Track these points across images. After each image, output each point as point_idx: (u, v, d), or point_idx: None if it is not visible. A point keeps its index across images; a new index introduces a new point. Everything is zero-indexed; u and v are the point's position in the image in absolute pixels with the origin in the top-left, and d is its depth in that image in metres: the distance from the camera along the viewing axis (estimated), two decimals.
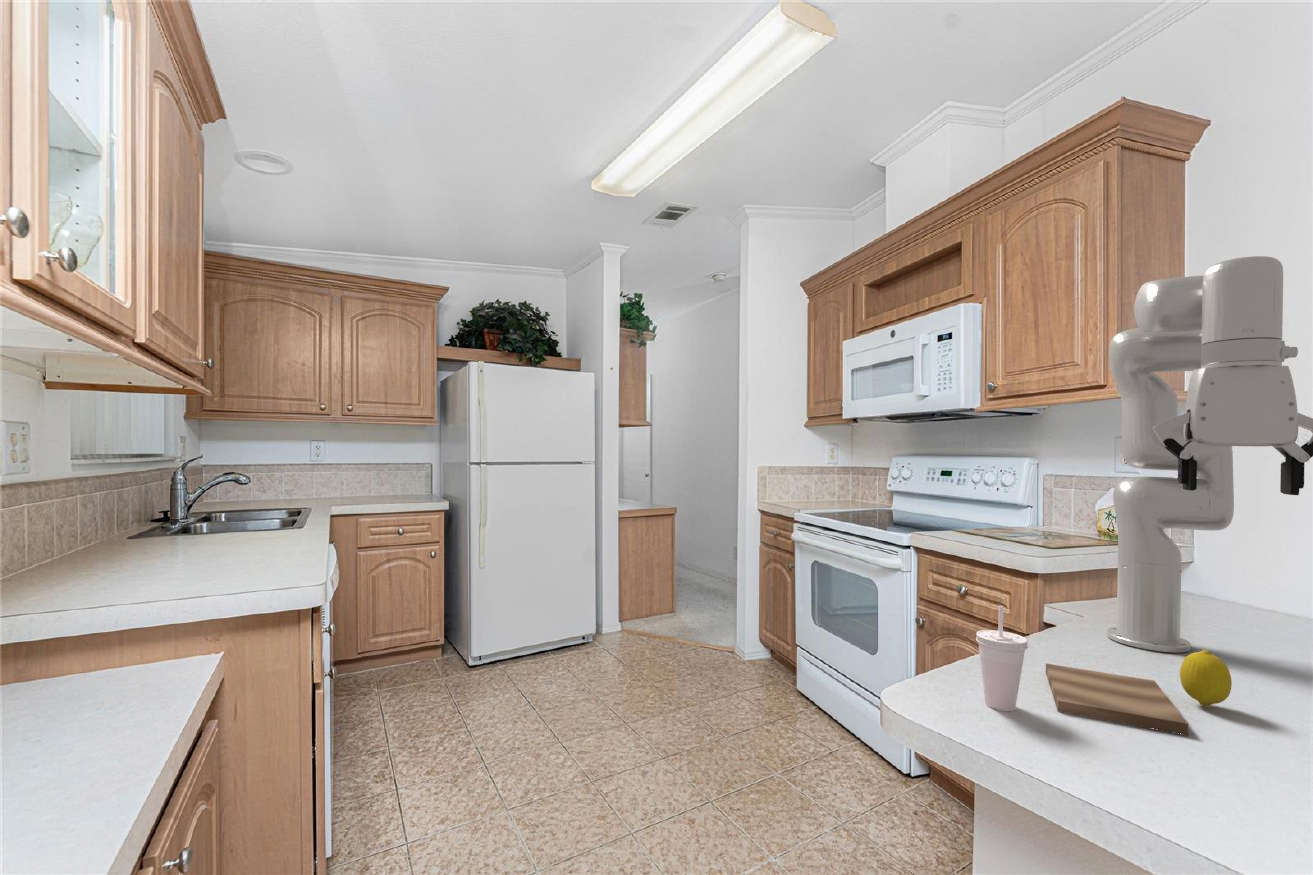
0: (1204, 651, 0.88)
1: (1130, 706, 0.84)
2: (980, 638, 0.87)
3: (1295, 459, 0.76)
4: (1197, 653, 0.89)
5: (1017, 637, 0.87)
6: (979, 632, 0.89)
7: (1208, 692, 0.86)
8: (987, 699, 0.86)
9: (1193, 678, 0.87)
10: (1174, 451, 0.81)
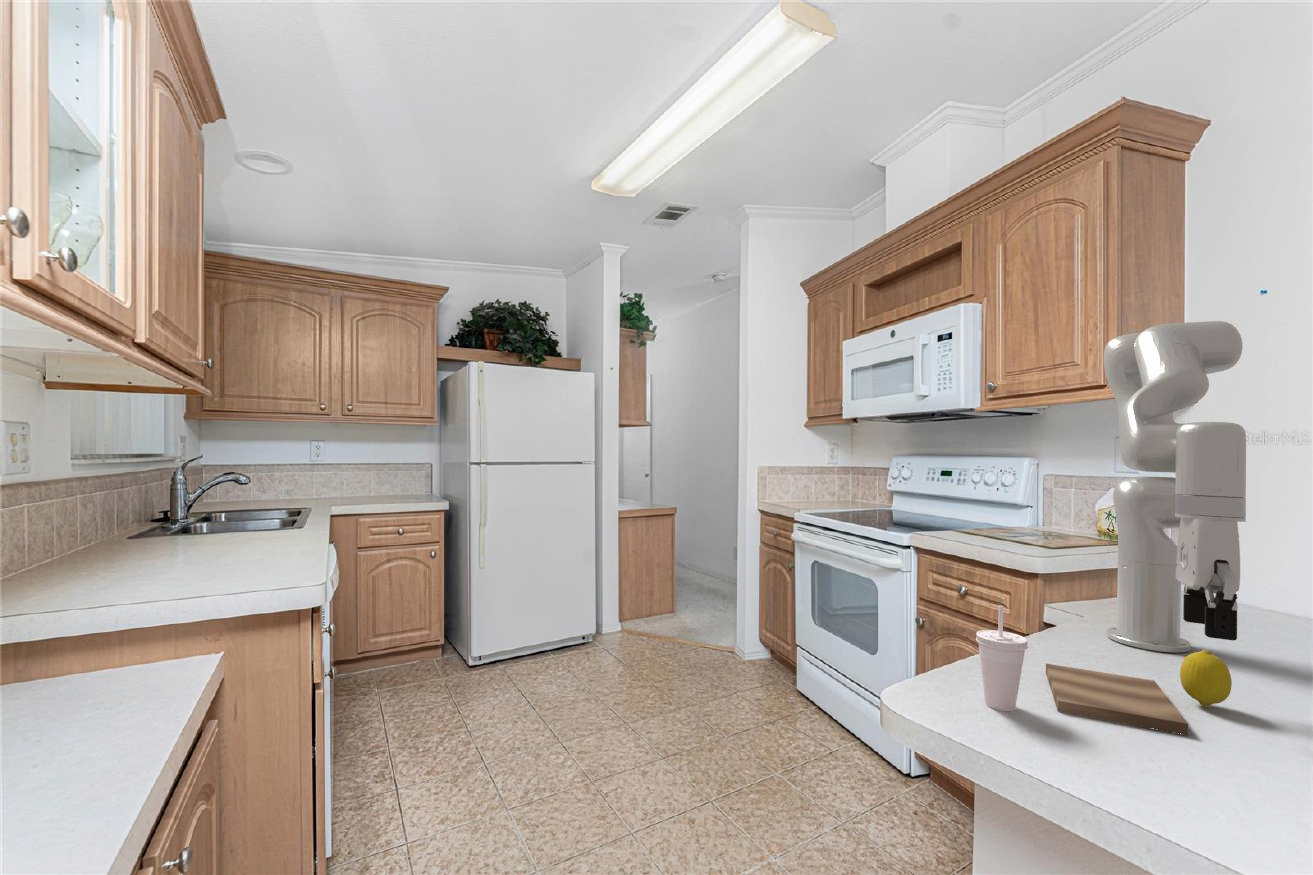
0: (1204, 651, 0.88)
1: (1130, 706, 0.84)
2: (980, 638, 0.87)
3: (1206, 594, 0.92)
4: (1197, 653, 0.89)
5: (1017, 637, 0.87)
6: (979, 632, 0.89)
7: (1208, 692, 0.86)
8: (987, 699, 0.86)
9: (1193, 678, 0.87)
10: (1233, 604, 0.82)
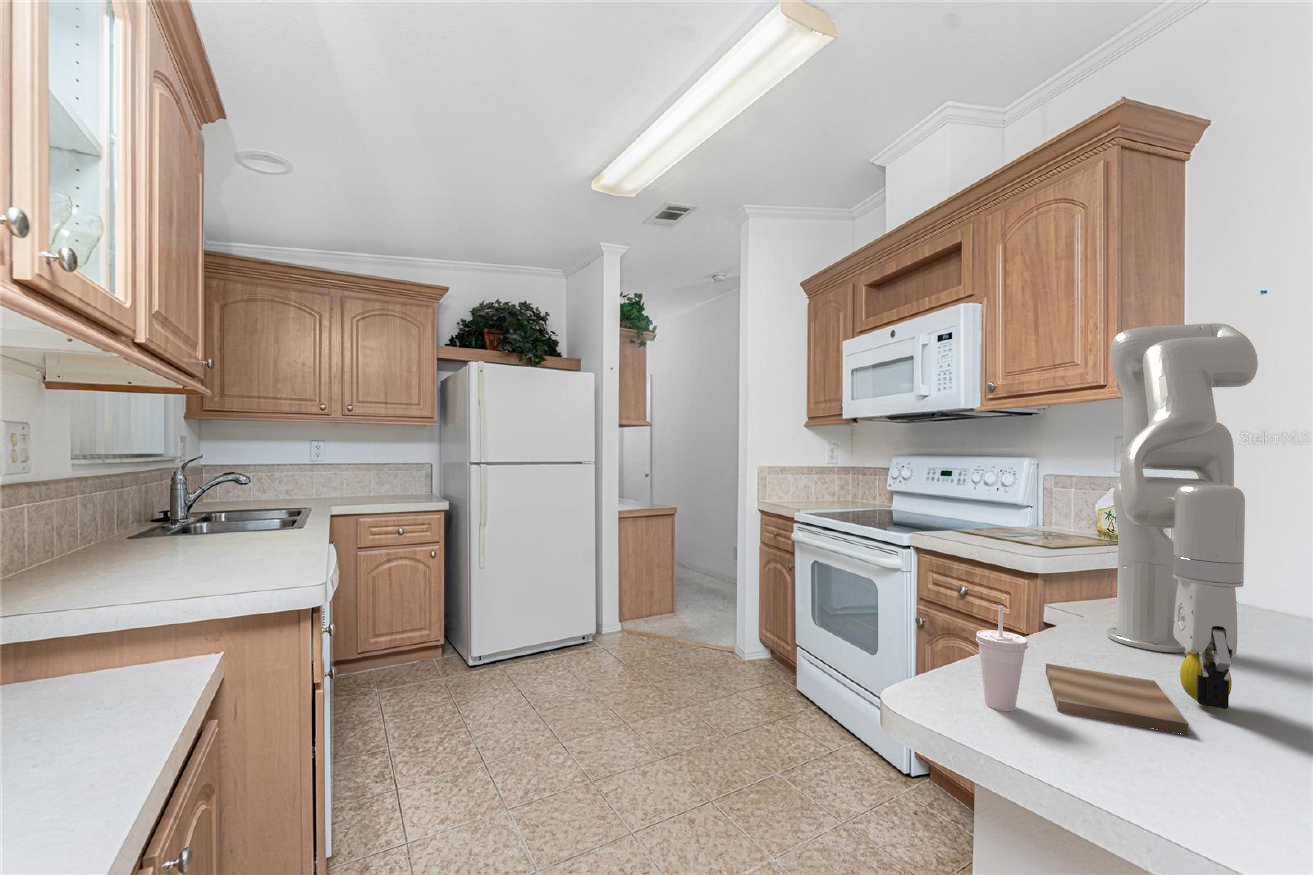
0: None
1: (1130, 706, 0.84)
2: (980, 638, 0.87)
3: None
4: (1197, 653, 0.89)
5: (1017, 637, 0.87)
6: (979, 632, 0.89)
7: None
8: (987, 699, 0.86)
9: (1193, 678, 0.87)
10: (1224, 675, 0.84)
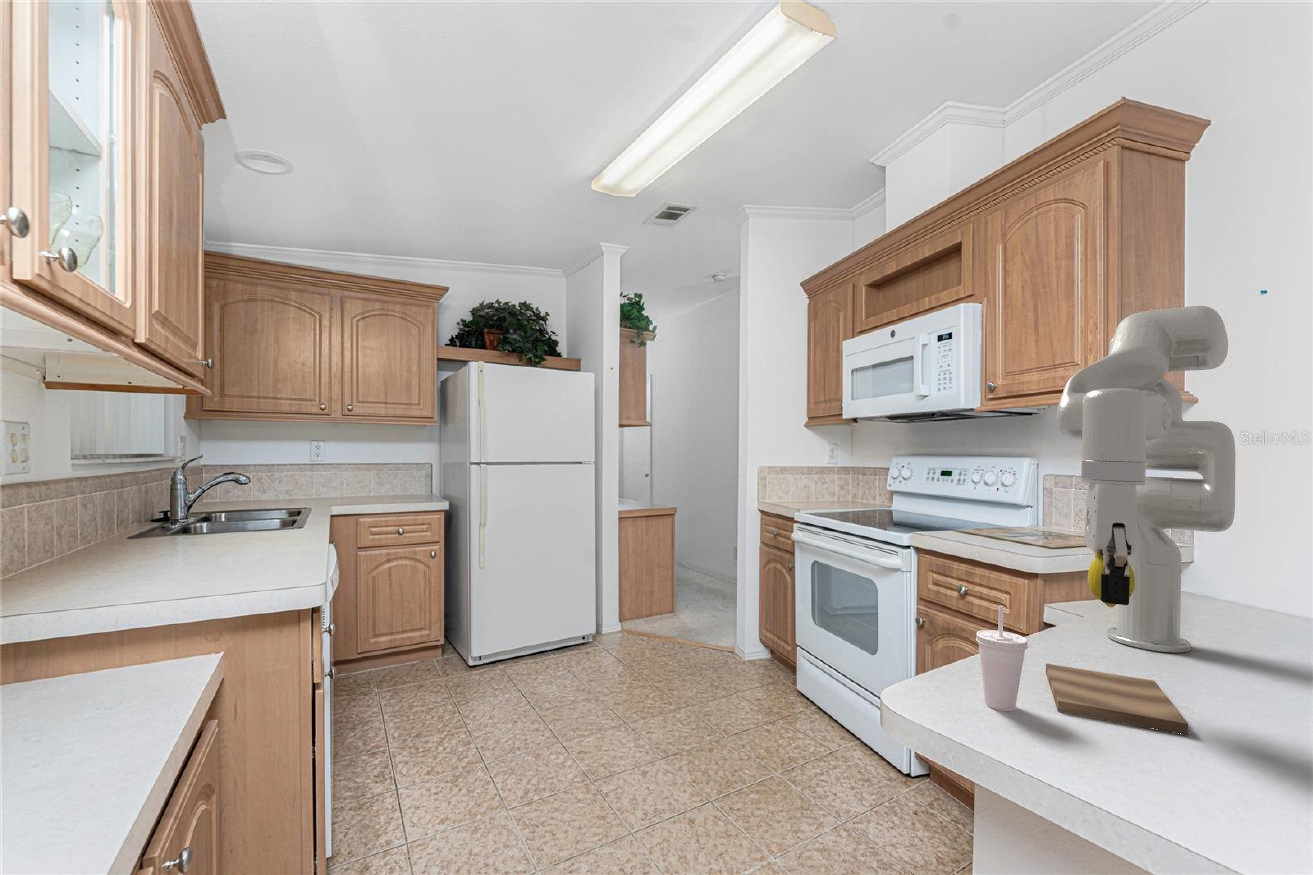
0: None
1: (1130, 706, 0.84)
2: (980, 638, 0.87)
3: None
4: None
5: (1017, 637, 0.87)
6: (979, 632, 0.89)
7: None
8: (987, 699, 0.86)
9: (1098, 578, 0.89)
10: (1124, 570, 0.85)
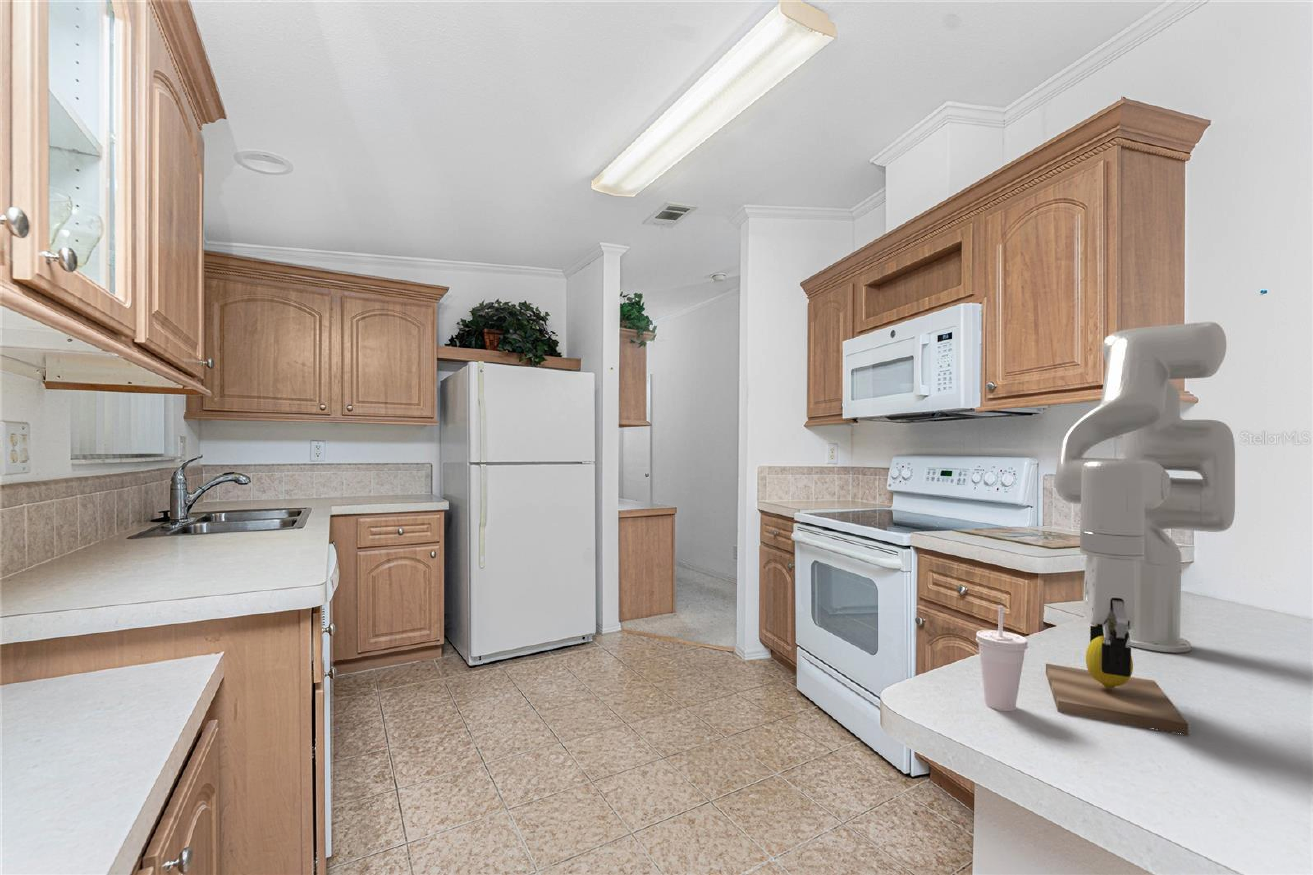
0: None
1: (1130, 706, 0.84)
2: (980, 638, 0.87)
3: None
4: (1101, 636, 0.90)
5: (1017, 637, 0.87)
6: (979, 632, 0.89)
7: (1110, 674, 0.88)
8: (987, 699, 0.86)
9: (1096, 661, 0.89)
10: (1125, 642, 0.84)
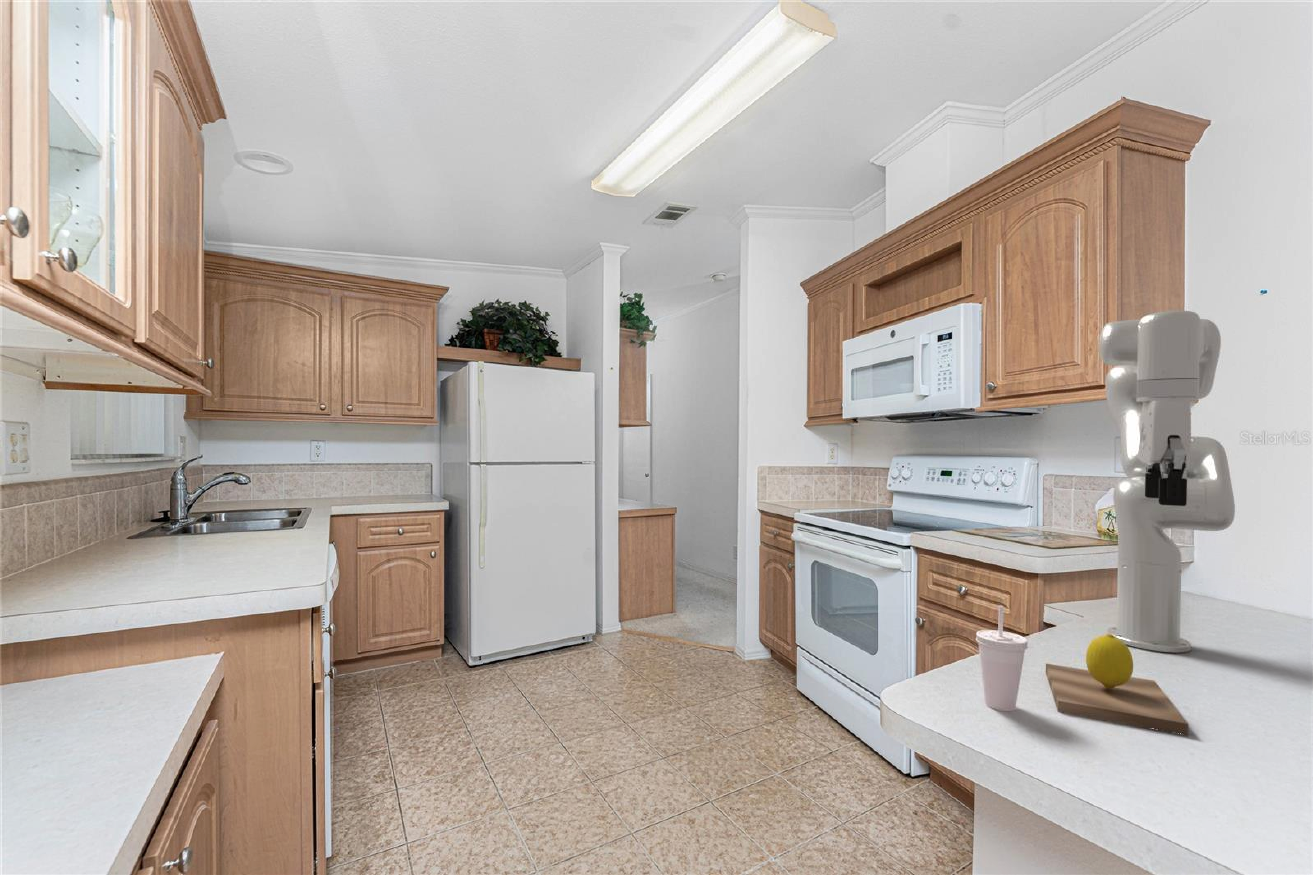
0: (1108, 635, 0.90)
1: (1130, 706, 0.84)
2: (980, 638, 0.87)
3: None
4: (1101, 637, 0.90)
5: (1017, 637, 0.87)
6: (979, 632, 0.89)
7: (1110, 674, 0.88)
8: (987, 699, 0.86)
9: (1096, 661, 0.89)
10: (1182, 473, 0.91)
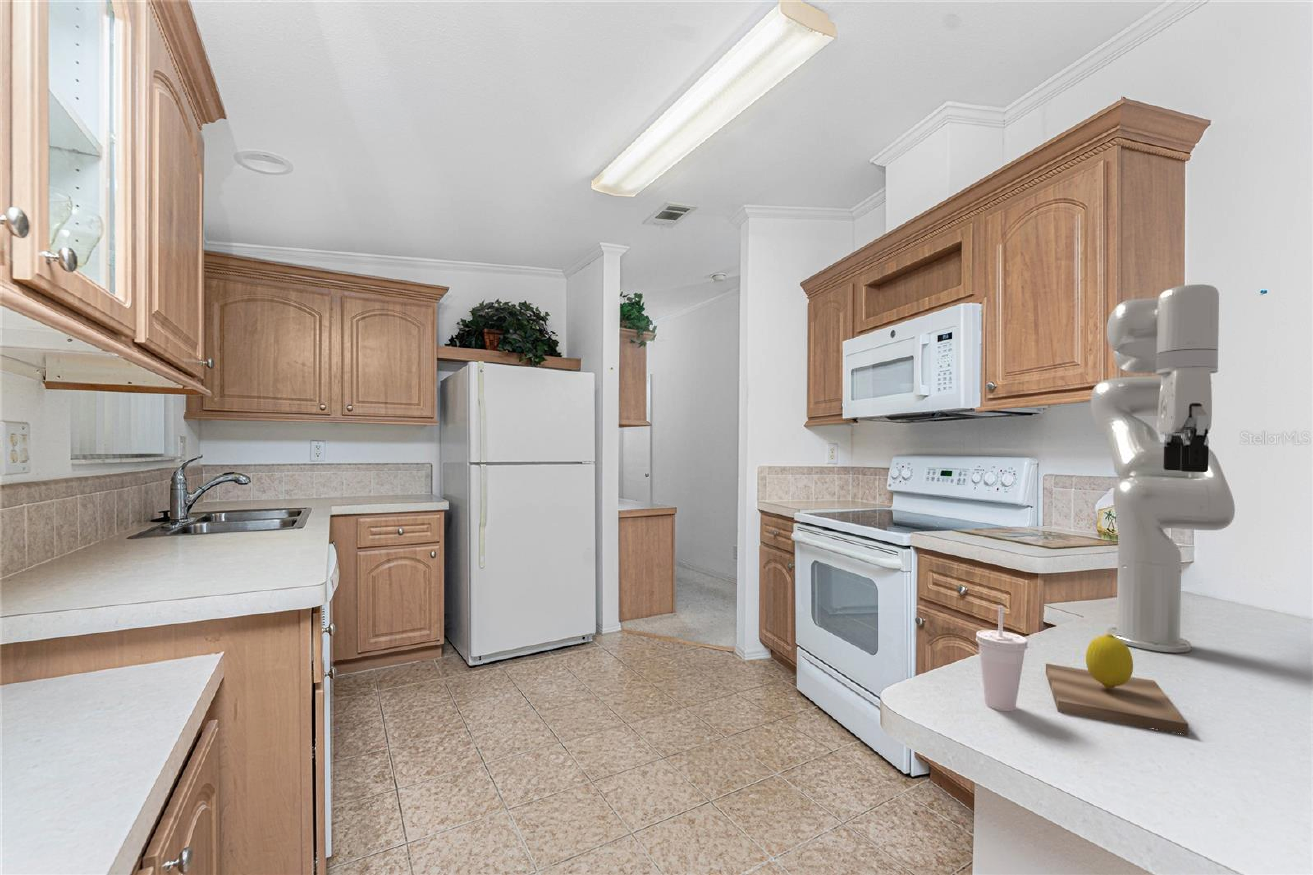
0: (1108, 635, 0.90)
1: (1130, 706, 0.84)
2: (980, 638, 0.87)
3: (1183, 444, 1.03)
4: (1101, 637, 0.90)
5: (1017, 637, 0.87)
6: (979, 632, 0.89)
7: (1109, 674, 0.88)
8: (987, 698, 0.86)
9: (1096, 661, 0.89)
10: (1204, 439, 0.93)
